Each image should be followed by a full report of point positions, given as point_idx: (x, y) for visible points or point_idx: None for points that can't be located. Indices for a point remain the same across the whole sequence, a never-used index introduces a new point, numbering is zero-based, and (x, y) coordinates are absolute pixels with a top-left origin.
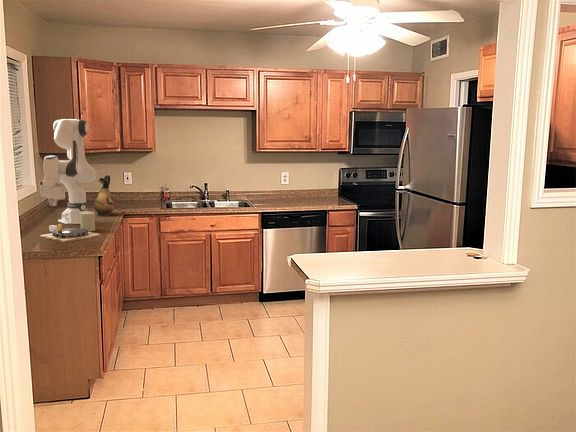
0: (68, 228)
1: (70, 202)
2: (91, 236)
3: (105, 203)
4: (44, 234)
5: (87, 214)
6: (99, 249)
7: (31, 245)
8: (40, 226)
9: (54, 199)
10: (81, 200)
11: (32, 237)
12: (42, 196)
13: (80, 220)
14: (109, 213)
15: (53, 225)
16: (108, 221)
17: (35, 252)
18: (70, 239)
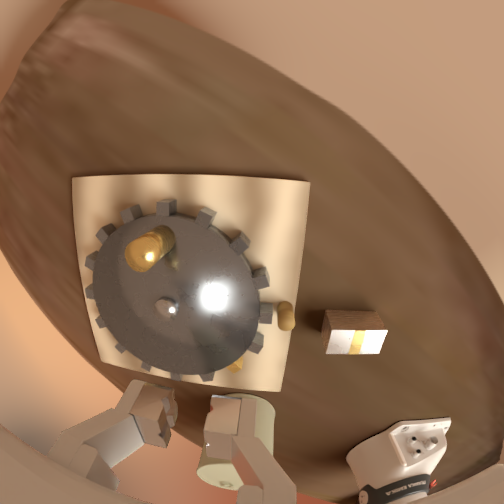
0: (242, 351)
1: (413, 495)
2: (91, 320)
3: None
4: (304, 218)
5: (202, 463)
6: None
7: (150, 32)
8: (468, 348)
9: (58, 448)
10: None
11: (330, 147)
12: (471, 484)
13: (255, 435)
14: (357, 501)
15: (368, 348)
16: (304, 483)
17: (58, 18)
18: (78, 214)
